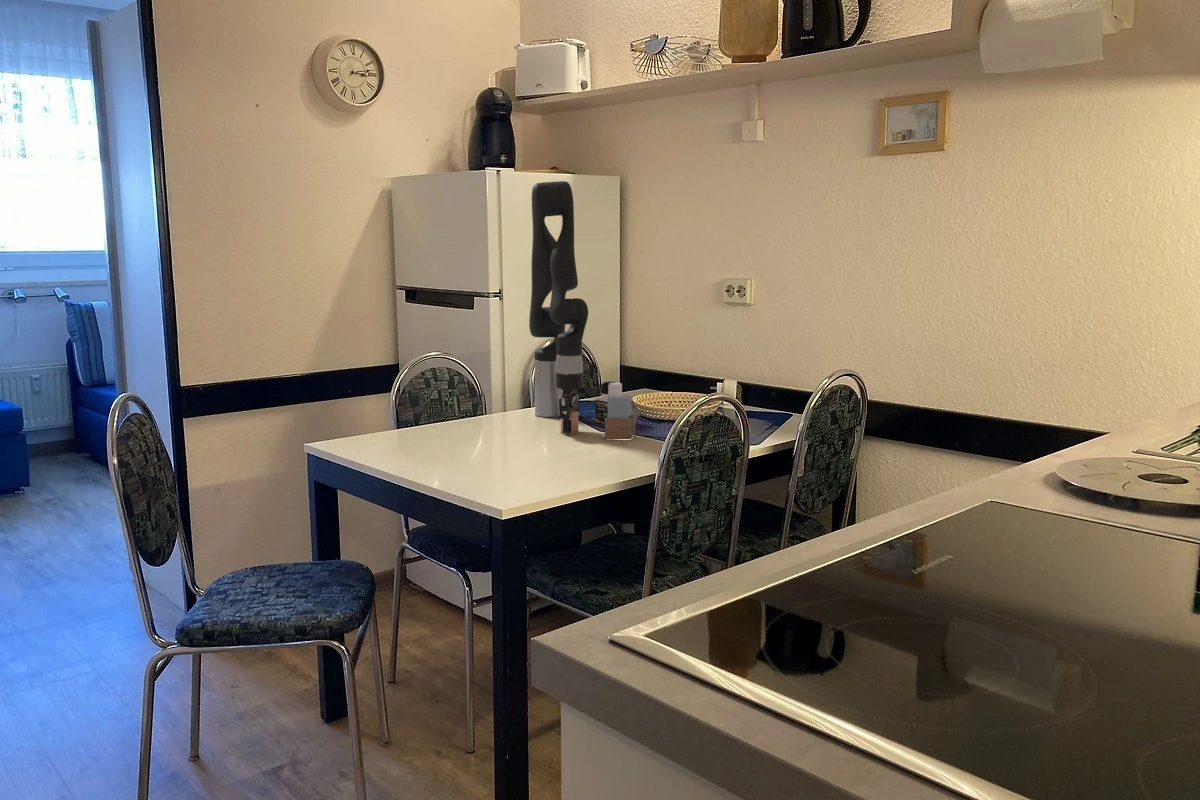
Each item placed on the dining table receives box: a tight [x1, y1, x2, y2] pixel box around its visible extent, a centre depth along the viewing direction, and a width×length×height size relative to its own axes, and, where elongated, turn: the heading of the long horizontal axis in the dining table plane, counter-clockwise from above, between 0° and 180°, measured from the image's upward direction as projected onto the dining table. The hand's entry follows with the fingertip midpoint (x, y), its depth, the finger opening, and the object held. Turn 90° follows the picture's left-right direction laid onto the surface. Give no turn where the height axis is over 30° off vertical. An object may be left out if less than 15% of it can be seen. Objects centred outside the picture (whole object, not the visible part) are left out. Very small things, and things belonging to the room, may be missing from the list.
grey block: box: [608, 394, 633, 419], centre depth 257 cm, size 6×6×6 cm
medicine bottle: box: [594, 381, 623, 422], centre depth 280 cm, size 7×7×12 cm
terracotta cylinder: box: [560, 411, 579, 436], centre depth 264 cm, size 5×5×6 cm
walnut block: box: [604, 414, 636, 440], centre depth 258 cm, size 7×7×6 cm
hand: (569, 430), depth 265 cm, fingers closed on terracotta cylinder, 5 cm apart
